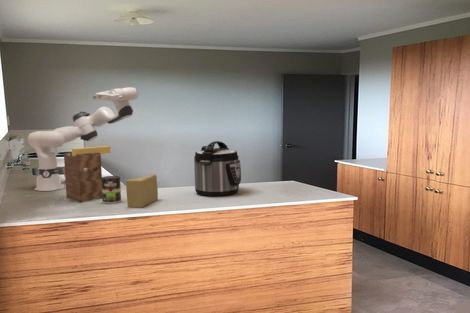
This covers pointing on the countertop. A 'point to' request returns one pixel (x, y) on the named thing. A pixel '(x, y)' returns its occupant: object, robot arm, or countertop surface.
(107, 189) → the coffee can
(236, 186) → the pressure cooker
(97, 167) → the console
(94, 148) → the lever bar
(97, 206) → the countertop surface
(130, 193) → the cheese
